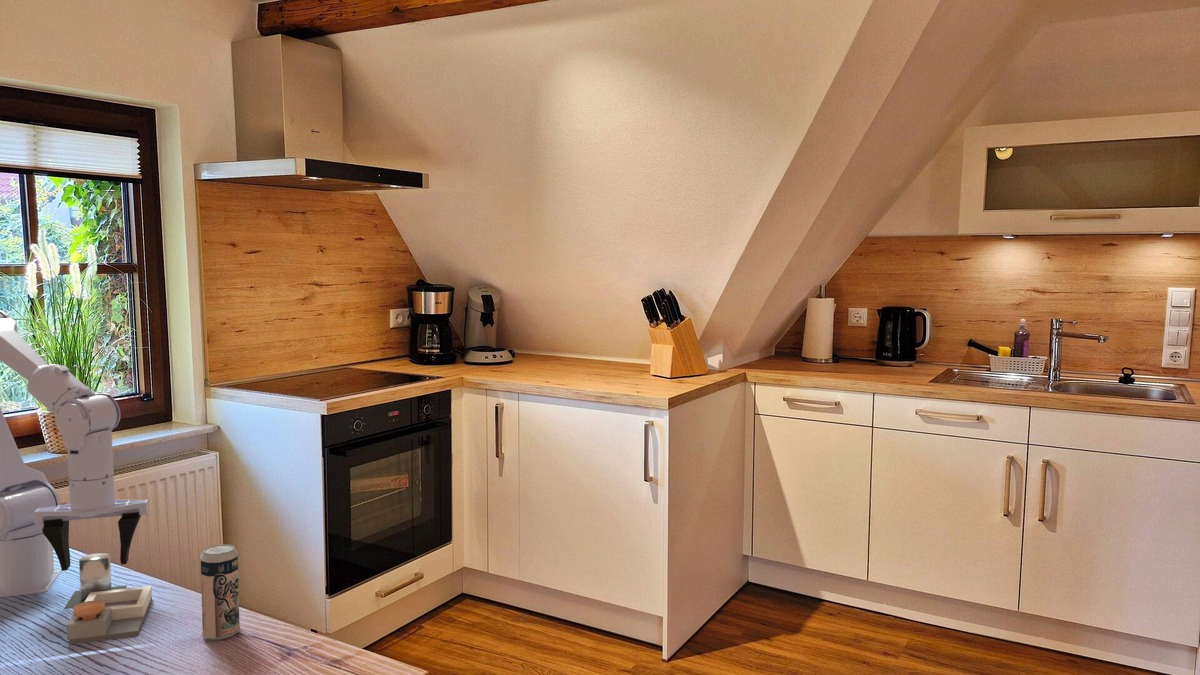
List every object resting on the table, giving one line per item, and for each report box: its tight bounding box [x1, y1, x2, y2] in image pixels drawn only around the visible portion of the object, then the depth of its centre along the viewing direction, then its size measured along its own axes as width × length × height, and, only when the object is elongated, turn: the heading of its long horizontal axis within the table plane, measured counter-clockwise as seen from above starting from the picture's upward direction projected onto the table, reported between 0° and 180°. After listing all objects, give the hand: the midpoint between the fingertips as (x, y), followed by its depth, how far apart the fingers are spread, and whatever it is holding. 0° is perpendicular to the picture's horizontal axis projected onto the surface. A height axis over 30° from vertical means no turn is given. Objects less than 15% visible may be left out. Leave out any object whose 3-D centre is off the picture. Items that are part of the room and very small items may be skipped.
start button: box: [72, 600, 105, 620], centre depth 113 cm, size 4×4×3 cm
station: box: [66, 585, 153, 645], centre depth 118 cm, size 13×8×3 cm, turn 21°
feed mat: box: [63, 584, 128, 610], centre depth 126 cm, size 7×7×1 cm
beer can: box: [199, 543, 241, 641], centre depth 114 cm, size 5×5×12 cm
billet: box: [78, 552, 112, 601], centre depth 126 cm, size 4×4×6 cm
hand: (95, 565), depth 126 cm, fingers open, 7 cm apart
